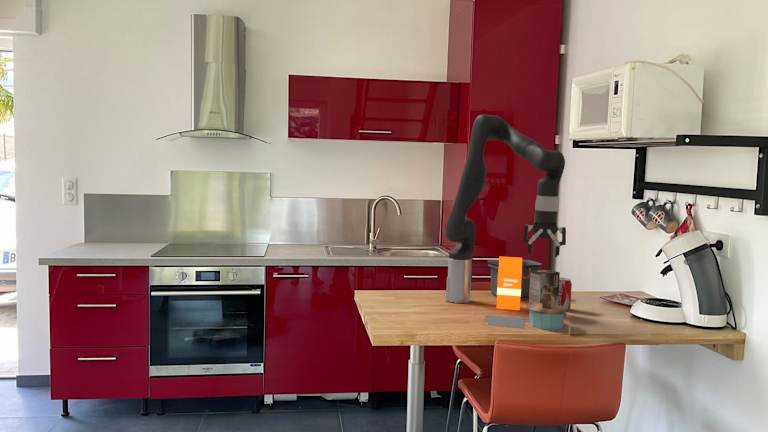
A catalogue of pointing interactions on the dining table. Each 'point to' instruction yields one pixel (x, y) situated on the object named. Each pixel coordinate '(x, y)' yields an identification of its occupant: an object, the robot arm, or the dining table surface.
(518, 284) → the orange juice
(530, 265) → the storage bin
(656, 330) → the dining table surface
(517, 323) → the mat
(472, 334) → the dining table surface
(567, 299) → the beverage can
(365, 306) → the dining table surface
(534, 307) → the lid
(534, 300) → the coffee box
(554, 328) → the bowl
